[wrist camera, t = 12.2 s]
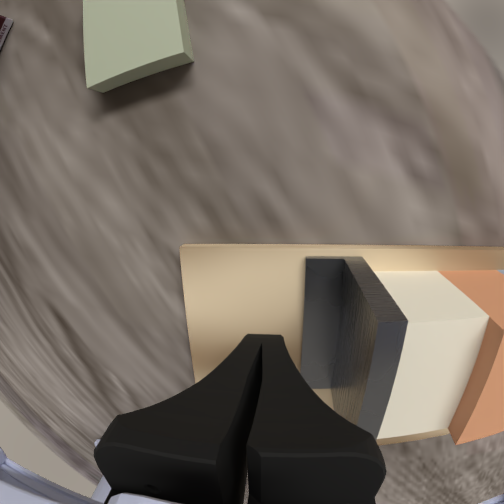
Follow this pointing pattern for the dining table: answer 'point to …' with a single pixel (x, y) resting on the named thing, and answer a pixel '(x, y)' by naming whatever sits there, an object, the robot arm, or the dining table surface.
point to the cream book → (431, 351)
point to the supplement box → (4, 28)
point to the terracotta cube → (482, 359)
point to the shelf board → (288, 293)
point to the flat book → (133, 40)
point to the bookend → (351, 337)
